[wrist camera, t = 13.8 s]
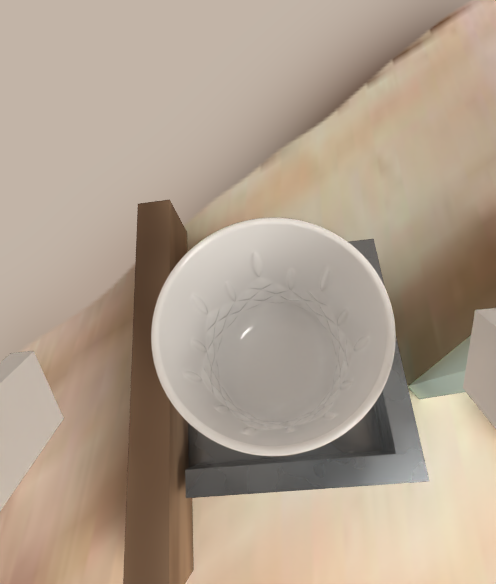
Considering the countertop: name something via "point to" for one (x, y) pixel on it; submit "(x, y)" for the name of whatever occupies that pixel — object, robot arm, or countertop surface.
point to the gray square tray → (322, 447)
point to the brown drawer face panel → (155, 422)
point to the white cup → (273, 336)
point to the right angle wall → (444, 374)
